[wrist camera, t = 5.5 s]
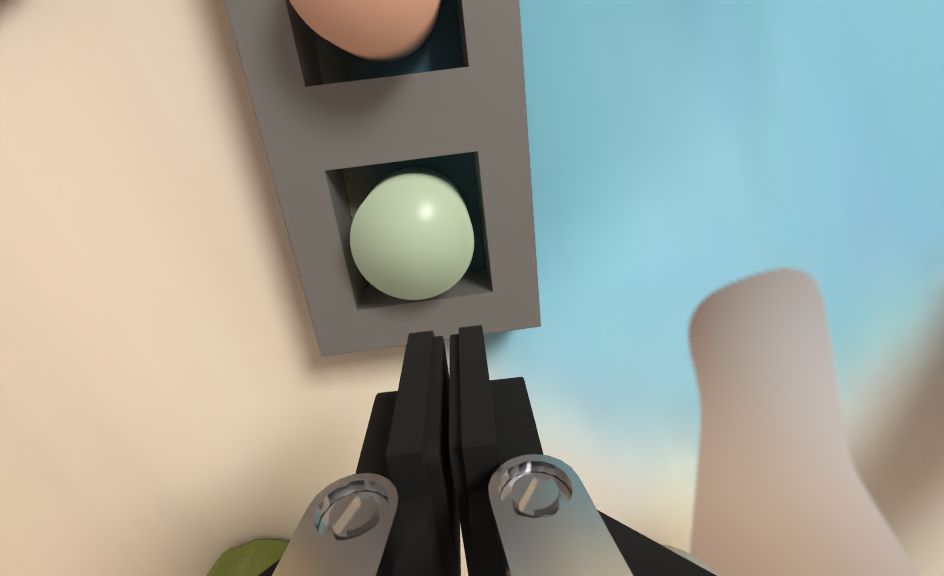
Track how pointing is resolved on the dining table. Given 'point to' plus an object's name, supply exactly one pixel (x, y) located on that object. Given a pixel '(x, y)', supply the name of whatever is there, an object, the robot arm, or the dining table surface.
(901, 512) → the dining table surface
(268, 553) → the plant pot
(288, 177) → the button panel
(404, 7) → the peach rounded dome
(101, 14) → the dining table surface
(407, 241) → the sage button
